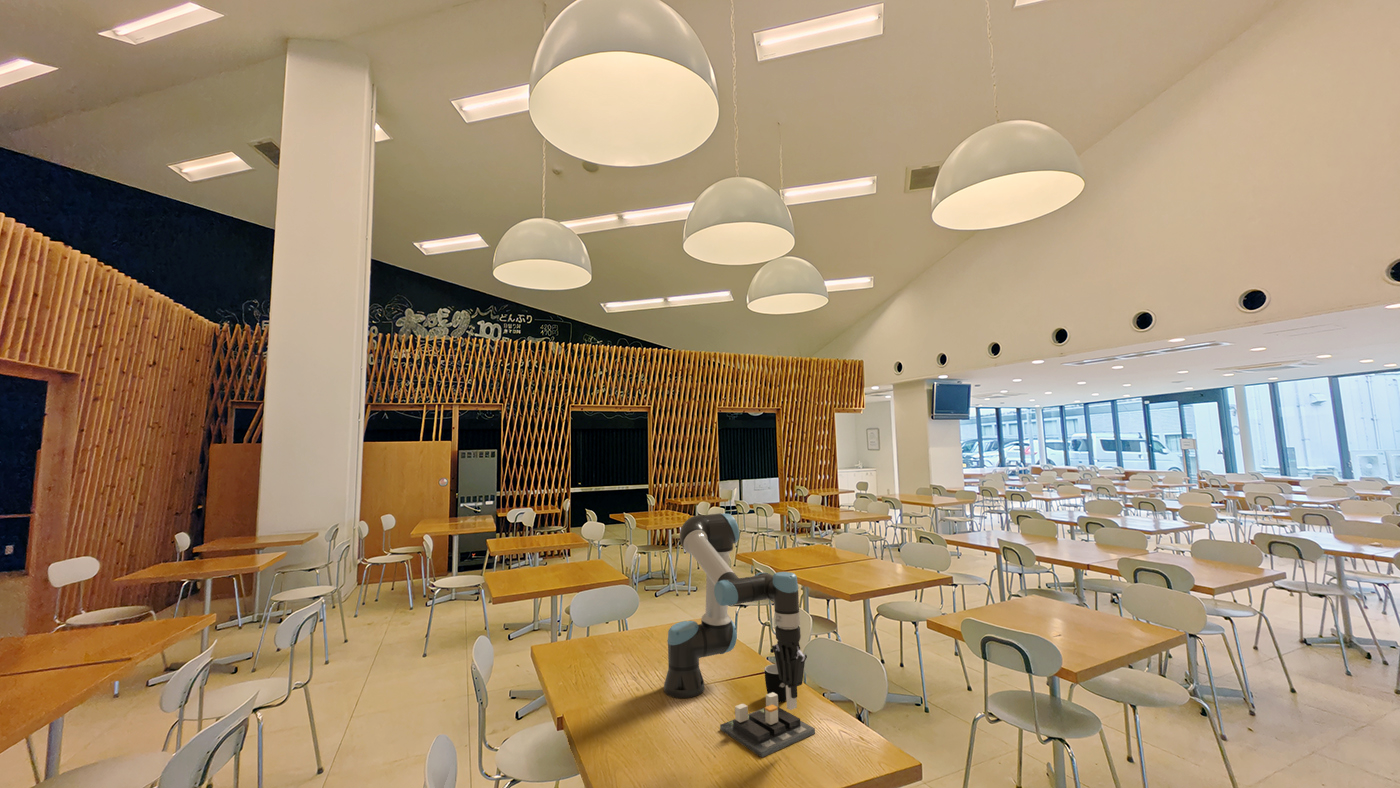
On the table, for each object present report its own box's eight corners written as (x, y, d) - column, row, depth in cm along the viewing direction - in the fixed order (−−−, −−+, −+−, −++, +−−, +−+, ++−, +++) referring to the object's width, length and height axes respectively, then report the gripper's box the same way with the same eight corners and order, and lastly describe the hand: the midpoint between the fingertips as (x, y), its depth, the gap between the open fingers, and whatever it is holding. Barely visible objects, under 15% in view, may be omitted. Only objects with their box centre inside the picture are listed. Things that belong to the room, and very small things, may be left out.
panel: (720, 729, 170) (720, 718, 170) (771, 709, 182) (771, 698, 182) (761, 757, 153) (761, 744, 154) (815, 733, 166) (814, 721, 166)
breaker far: (766, 707, 176) (765, 694, 176) (773, 704, 177) (772, 692, 178) (771, 710, 174) (770, 697, 174) (778, 707, 175) (777, 694, 176)
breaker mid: (765, 721, 166) (764, 707, 167) (773, 718, 168) (772, 704, 169) (770, 725, 164) (770, 710, 165) (778, 721, 166) (777, 707, 167)
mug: (779, 706, 184) (778, 676, 185) (760, 698, 191) (759, 668, 192) (801, 695, 192) (799, 666, 193) (781, 688, 199) (780, 659, 200)
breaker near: (735, 719, 168) (735, 706, 169) (743, 716, 170) (742, 703, 170) (740, 722, 166) (739, 709, 167) (748, 719, 168) (747, 706, 169)
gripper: (764, 623, 166) (767, 704, 162) (793, 633, 155) (798, 719, 152) (781, 618, 170) (785, 697, 167) (811, 628, 159) (816, 712, 156)
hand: (791, 707), depth 159 cm, fingers closed
